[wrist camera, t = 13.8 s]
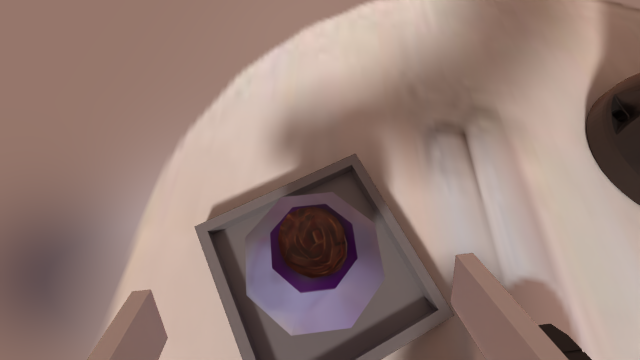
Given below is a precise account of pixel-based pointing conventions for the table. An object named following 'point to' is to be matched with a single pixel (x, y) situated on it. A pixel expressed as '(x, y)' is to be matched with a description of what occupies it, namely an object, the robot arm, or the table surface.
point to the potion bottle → (313, 263)
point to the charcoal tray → (380, 313)
